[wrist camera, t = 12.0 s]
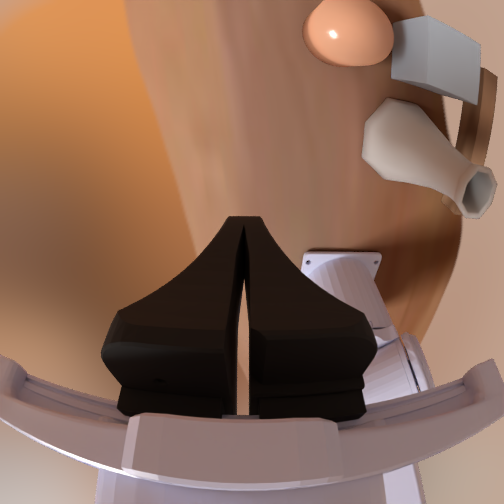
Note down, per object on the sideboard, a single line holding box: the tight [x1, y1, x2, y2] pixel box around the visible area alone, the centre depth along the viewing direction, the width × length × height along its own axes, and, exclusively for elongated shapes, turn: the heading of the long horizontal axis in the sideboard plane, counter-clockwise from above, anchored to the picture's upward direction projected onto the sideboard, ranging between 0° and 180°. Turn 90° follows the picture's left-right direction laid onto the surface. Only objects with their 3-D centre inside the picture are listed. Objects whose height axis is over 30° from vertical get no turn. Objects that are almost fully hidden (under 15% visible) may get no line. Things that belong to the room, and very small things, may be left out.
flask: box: [362, 98, 497, 219], centre depth 14 cm, size 7×7×10 cm
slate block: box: [391, 16, 481, 105], centre depth 12 cm, size 5×5×5 cm
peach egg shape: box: [302, 0, 394, 67], centre depth 12 cm, size 5×5×4 cm
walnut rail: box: [441, 67, 497, 215], centre depth 16 cm, size 14×2×2 cm, turn 179°
